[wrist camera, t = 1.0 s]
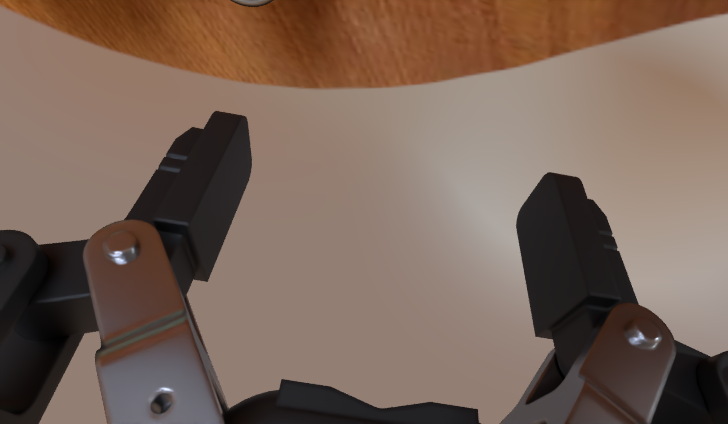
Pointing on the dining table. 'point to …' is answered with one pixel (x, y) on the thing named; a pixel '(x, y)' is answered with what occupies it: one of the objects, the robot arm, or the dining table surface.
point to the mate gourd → (252, 2)
